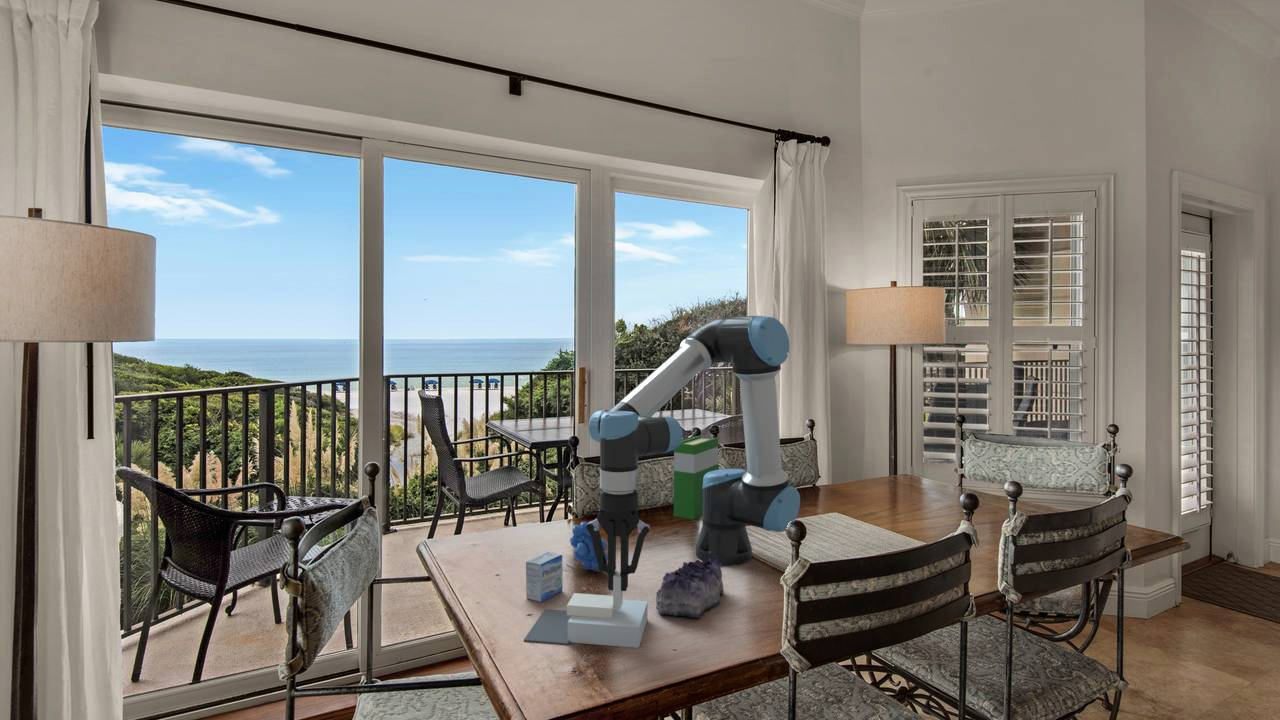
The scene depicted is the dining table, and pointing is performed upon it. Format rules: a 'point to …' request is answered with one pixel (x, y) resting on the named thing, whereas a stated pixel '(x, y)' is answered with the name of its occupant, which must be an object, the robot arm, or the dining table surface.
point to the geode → (691, 589)
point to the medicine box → (544, 576)
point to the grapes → (585, 547)
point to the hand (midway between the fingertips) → (617, 605)
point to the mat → (550, 628)
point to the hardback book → (692, 474)
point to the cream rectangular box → (591, 605)
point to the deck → (611, 626)
